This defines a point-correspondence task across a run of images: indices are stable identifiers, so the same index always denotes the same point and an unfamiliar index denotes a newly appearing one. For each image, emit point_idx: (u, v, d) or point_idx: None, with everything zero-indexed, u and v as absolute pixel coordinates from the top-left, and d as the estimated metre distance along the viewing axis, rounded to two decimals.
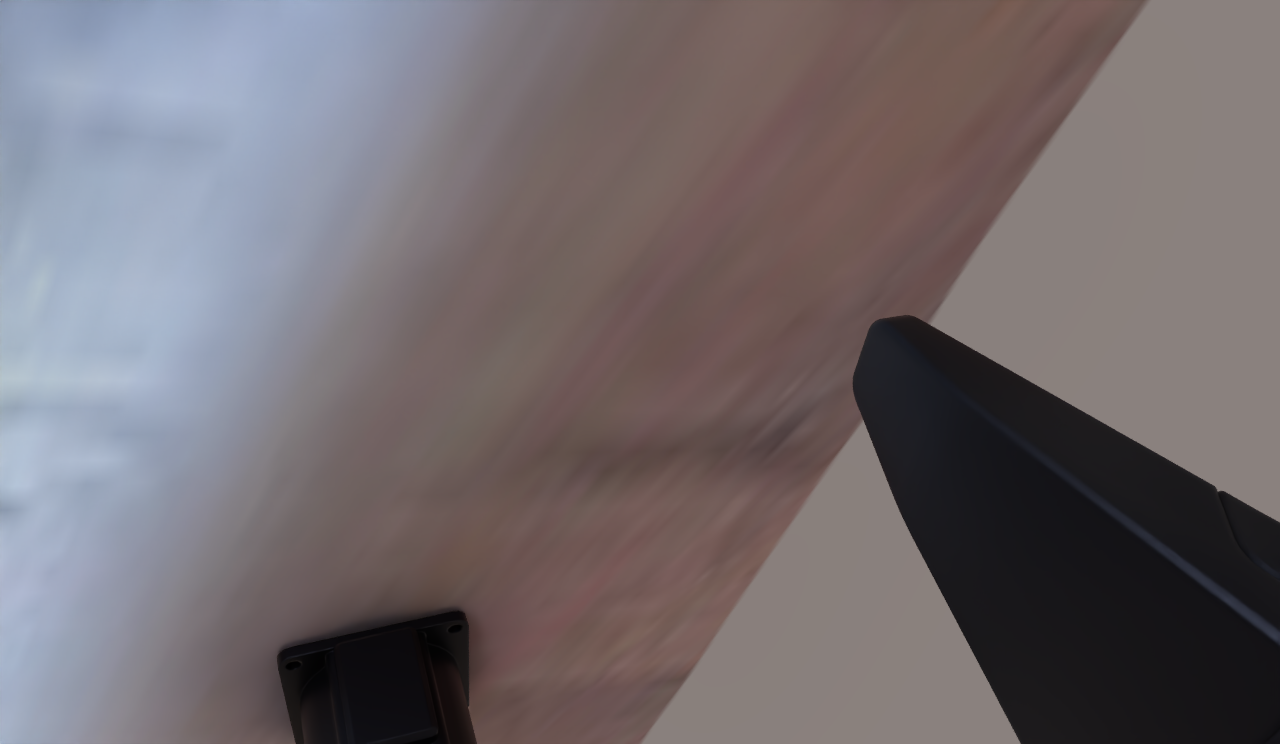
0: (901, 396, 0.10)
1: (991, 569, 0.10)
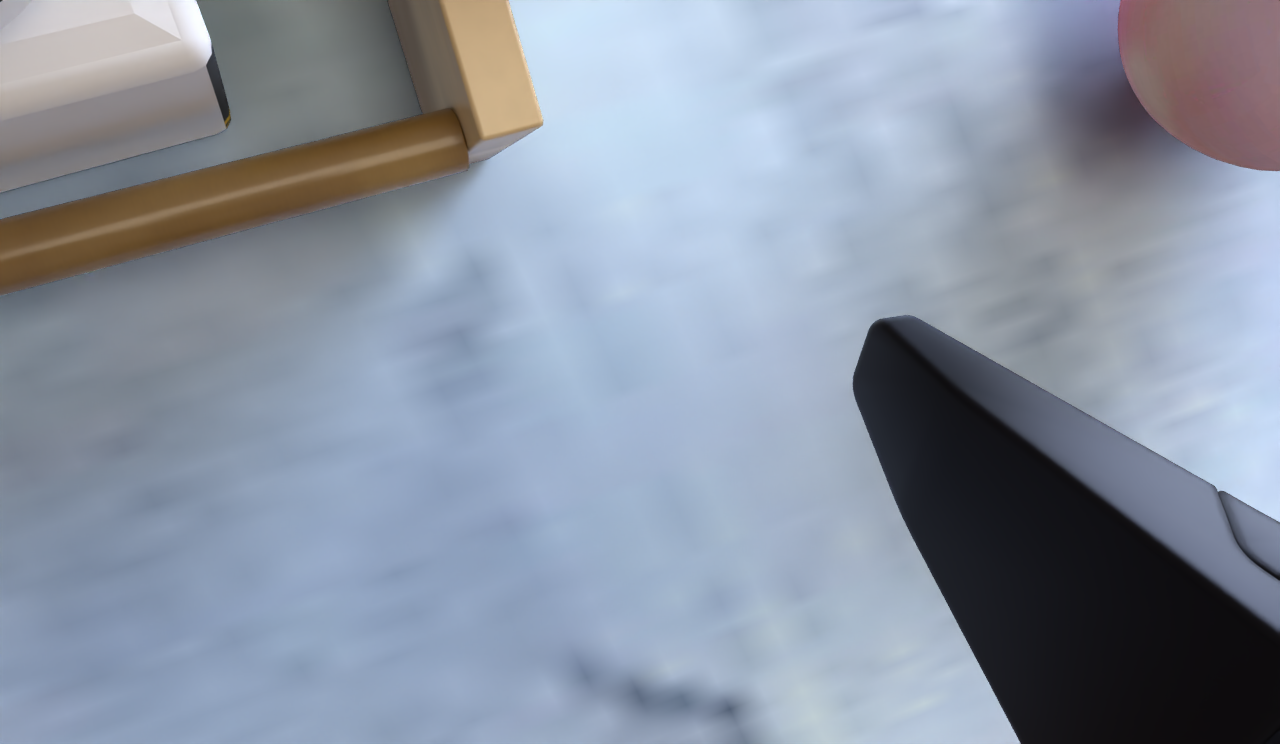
0: (901, 396, 0.10)
1: (991, 569, 0.10)
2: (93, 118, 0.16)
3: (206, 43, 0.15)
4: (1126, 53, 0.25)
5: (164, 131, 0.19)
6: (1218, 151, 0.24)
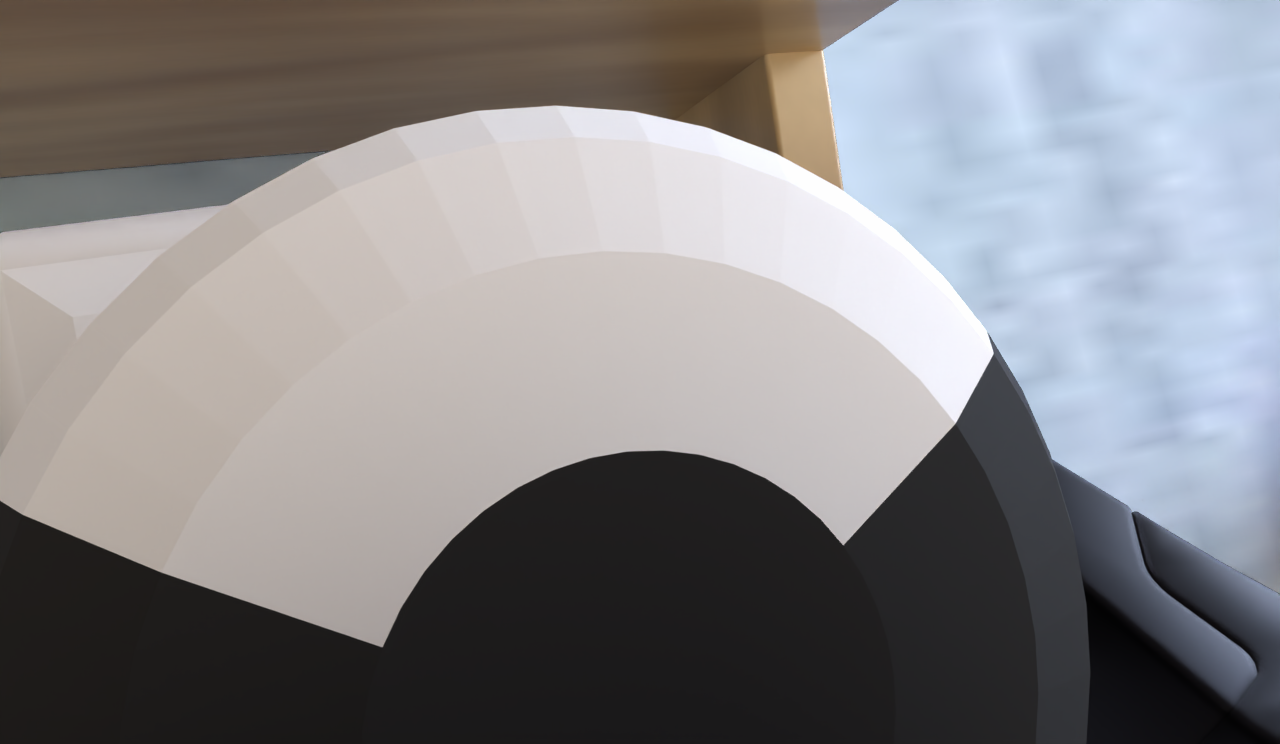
0: None
1: None
2: None
3: None
4: None
5: None
6: None
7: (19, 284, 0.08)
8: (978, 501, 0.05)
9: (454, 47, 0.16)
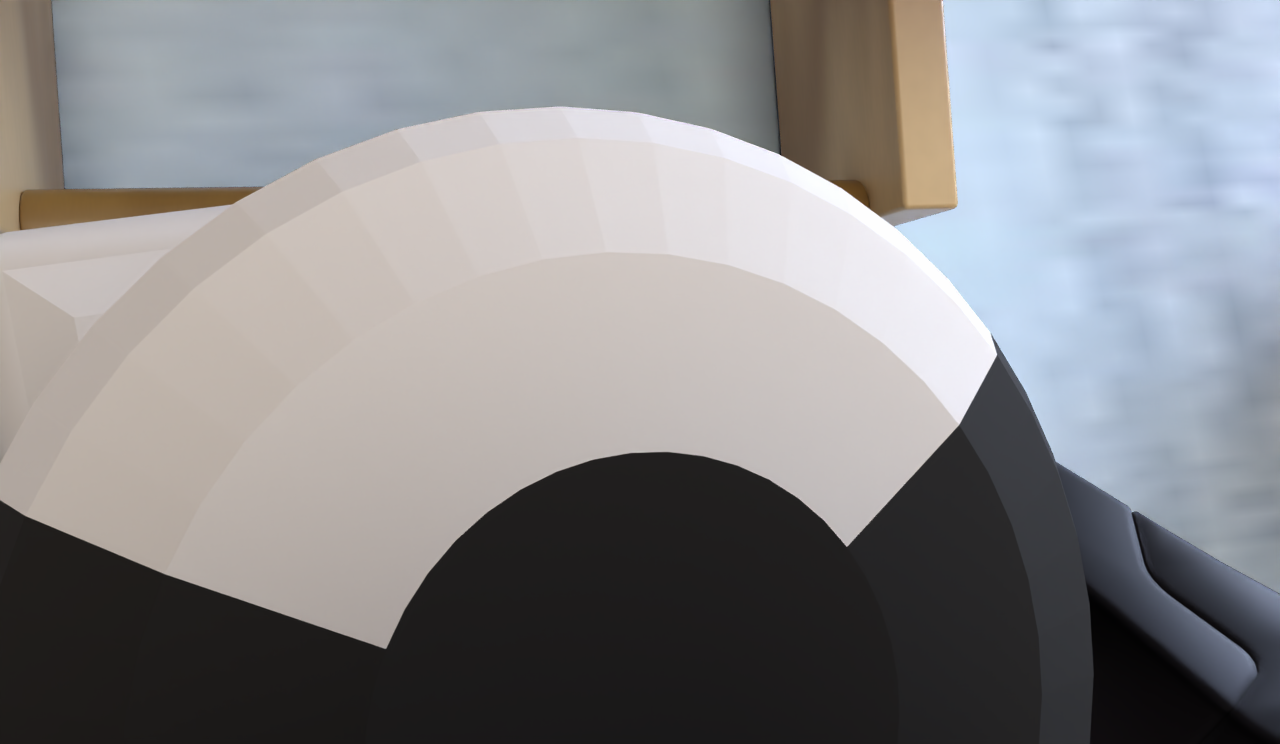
0: None
1: None
2: None
3: None
4: None
5: None
6: None
7: (21, 284, 0.08)
8: (982, 503, 0.05)
9: None
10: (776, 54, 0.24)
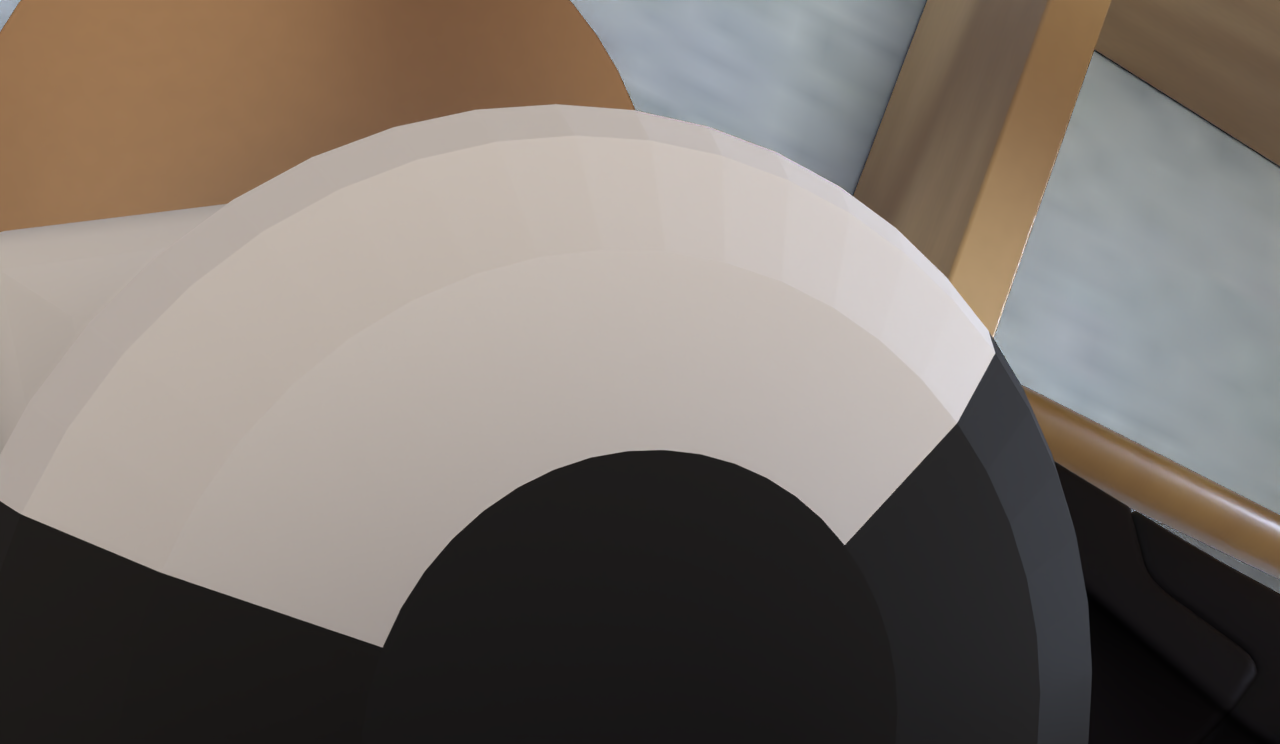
0: None
1: None
2: None
3: None
4: None
5: None
6: None
7: (19, 283, 0.08)
8: (981, 501, 0.05)
9: None
10: None
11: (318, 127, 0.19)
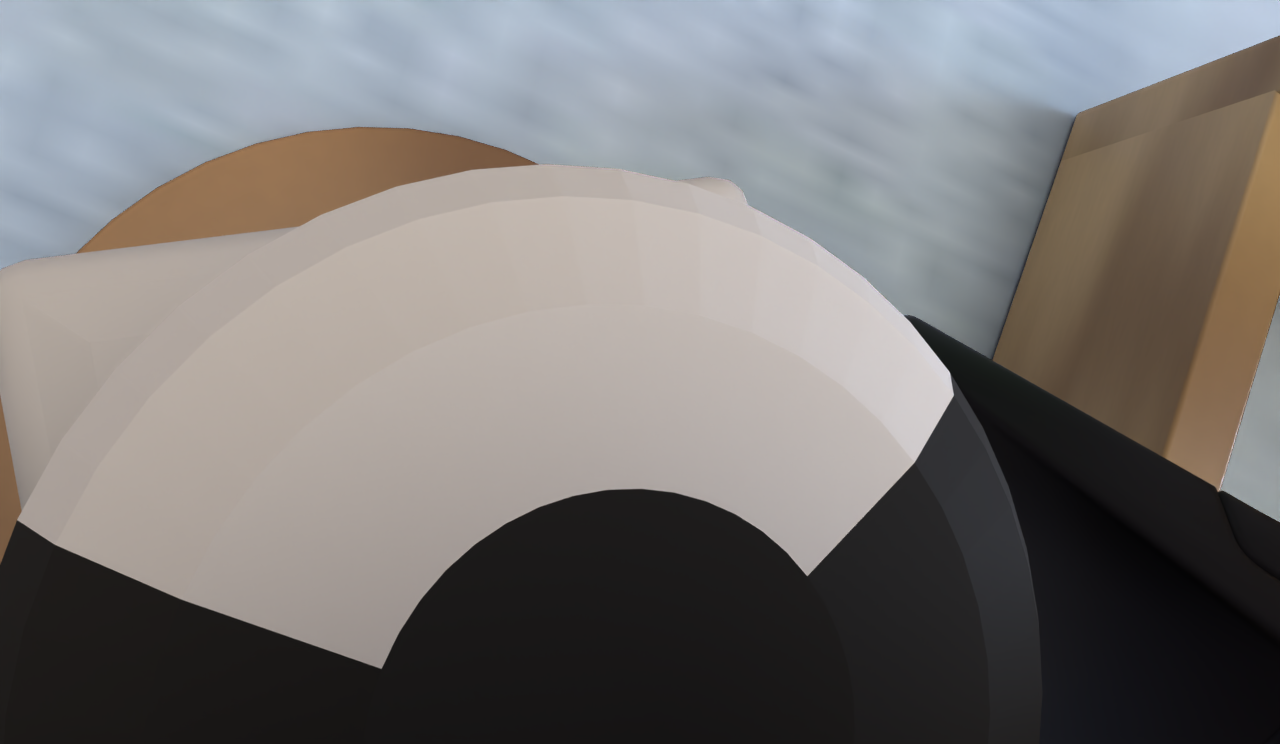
0: None
1: None
2: None
3: None
4: None
5: None
6: None
7: (40, 311, 0.09)
8: (935, 535, 0.06)
9: None
10: None
11: None
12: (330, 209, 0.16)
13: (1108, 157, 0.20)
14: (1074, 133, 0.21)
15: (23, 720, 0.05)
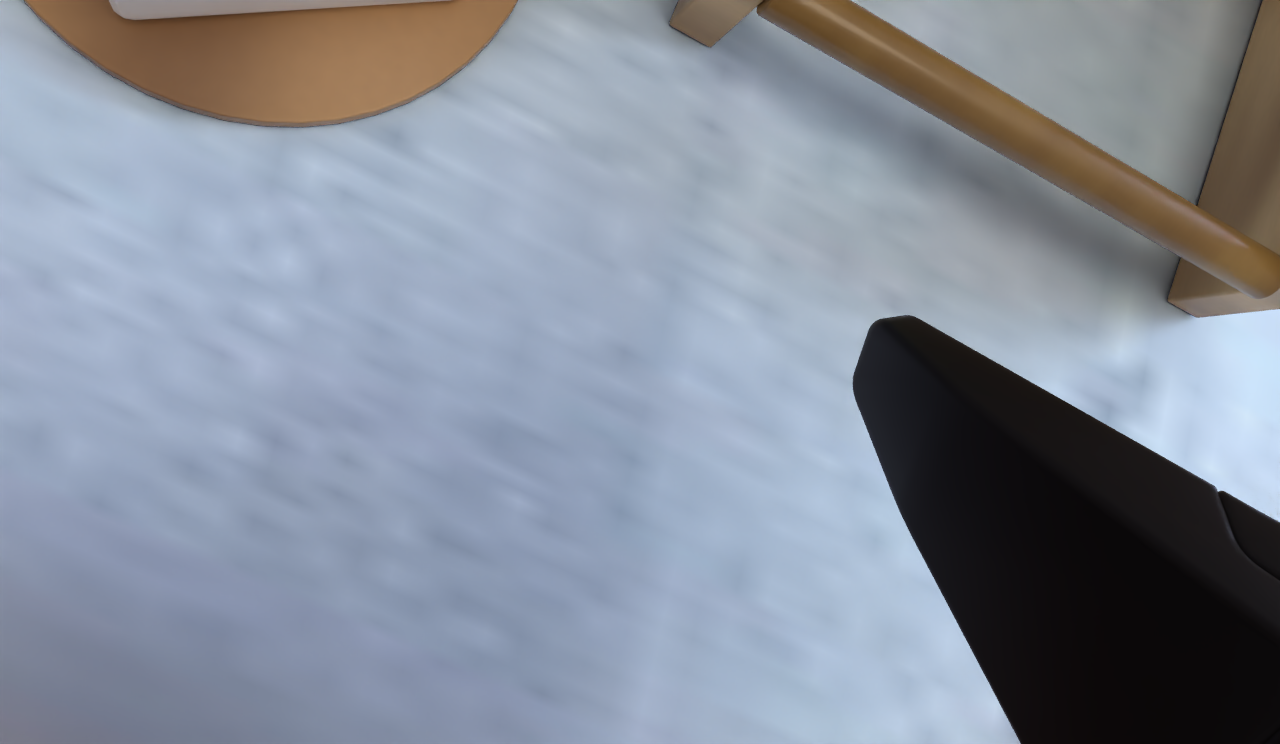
0: (901, 396, 0.10)
1: (991, 569, 0.10)
2: None
3: None
4: None
5: None
6: None
7: None
8: None
9: None
10: (1215, 161, 0.30)
11: None
12: None
13: None
14: None
15: None
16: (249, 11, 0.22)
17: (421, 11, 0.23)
